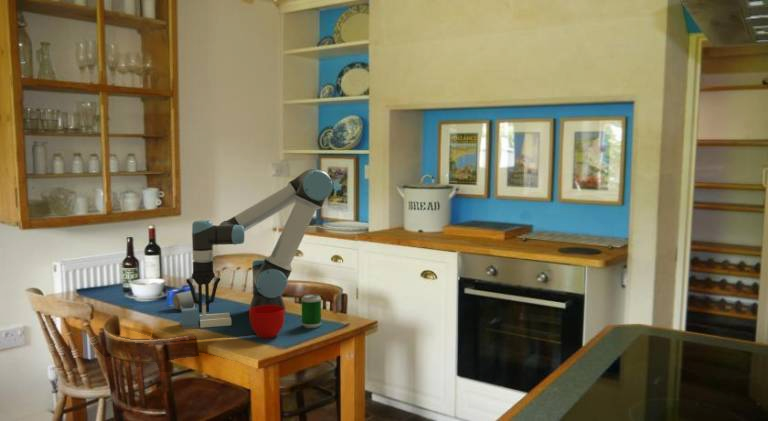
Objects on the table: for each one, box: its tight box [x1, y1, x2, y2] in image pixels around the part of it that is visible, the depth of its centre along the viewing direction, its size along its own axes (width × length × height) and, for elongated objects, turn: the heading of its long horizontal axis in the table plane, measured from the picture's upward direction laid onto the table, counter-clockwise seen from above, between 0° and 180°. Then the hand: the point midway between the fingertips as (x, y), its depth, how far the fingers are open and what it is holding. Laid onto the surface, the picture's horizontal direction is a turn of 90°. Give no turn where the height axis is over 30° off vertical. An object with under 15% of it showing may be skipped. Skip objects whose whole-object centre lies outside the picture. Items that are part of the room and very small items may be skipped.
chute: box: [180, 312, 232, 330], centre depth 246 cm, size 18×10×4 cm, turn 107°
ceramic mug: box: [172, 290, 197, 311], centre depth 272 cm, size 11×8×8 cm
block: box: [181, 307, 199, 327], centre depth 244 cm, size 6×6×6 cm
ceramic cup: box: [248, 305, 286, 339], centre depth 235 cm, size 13×17×10 cm
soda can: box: [301, 293, 322, 329], centre depth 246 cm, size 8×8×12 cm
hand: (204, 320), depth 246 cm, fingers closed
